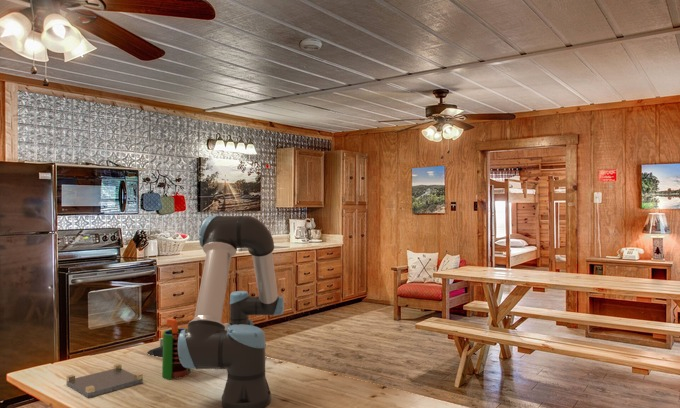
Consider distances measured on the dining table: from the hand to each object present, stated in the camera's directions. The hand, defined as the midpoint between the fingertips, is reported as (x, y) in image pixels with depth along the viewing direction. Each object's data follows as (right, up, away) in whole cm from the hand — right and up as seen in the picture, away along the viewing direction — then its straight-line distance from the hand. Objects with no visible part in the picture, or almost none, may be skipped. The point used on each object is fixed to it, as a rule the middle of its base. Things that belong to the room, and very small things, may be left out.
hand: (169, 346), depth 175 cm
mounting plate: (-20, -11, -8) cm, 24 cm away
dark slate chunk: (-9, -12, +34) cm, 37 cm away
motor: (+2, -11, +2) cm, 11 cm away
